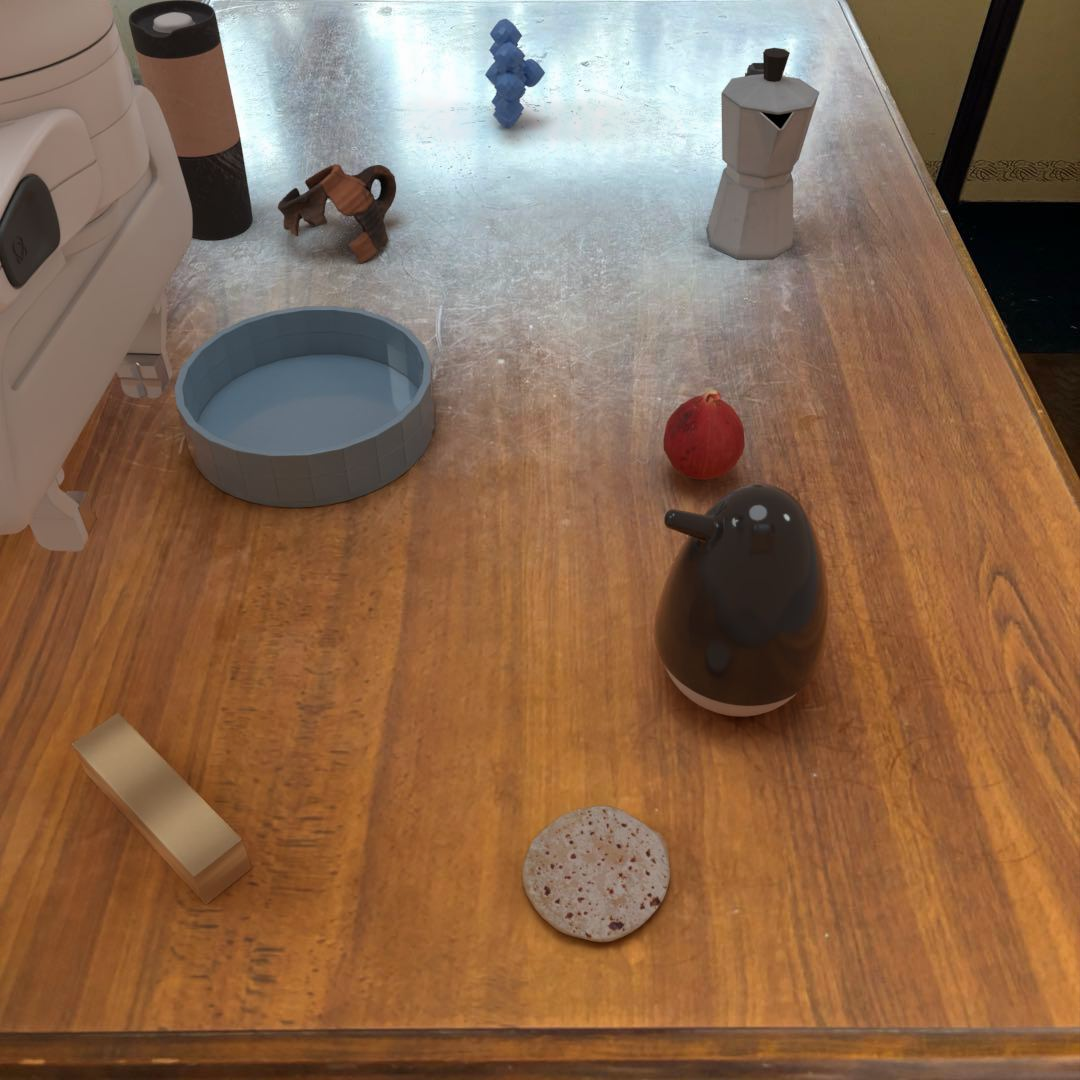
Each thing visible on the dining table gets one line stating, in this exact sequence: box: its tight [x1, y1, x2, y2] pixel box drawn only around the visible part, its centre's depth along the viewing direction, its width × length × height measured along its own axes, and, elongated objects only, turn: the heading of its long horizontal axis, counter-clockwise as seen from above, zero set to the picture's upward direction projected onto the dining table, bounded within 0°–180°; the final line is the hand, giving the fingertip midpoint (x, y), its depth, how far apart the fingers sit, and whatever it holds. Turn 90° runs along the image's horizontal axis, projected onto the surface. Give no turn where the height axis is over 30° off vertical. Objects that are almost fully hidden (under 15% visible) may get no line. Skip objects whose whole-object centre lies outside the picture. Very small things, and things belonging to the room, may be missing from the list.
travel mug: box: [128, 0, 254, 241], centre depth 104 cm, size 8×8×20 cm
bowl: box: [174, 305, 436, 509], centre depth 86 cm, size 19×19×5 cm
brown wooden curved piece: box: [276, 163, 397, 264], centre depth 107 cm, size 12×10×8 cm
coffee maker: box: [705, 47, 820, 260], centre depth 103 cm, size 15×9×18 cm, turn 0°
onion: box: [662, 388, 746, 481], centre depth 80 cm, size 6×6×8 cm
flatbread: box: [521, 805, 671, 943], centre depth 59 cm, size 8×8×1 cm
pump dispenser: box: [653, 483, 830, 717], centre depth 64 cm, size 10×10×15 cm
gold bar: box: [71, 712, 253, 905], centre depth 61 cm, size 12×3×3 cm, turn 47°
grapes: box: [484, 18, 546, 128], centre depth 123 cm, size 12×7×12 cm, turn 5°
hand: (113, 458), depth 45 cm, fingers open, 8 cm apart
